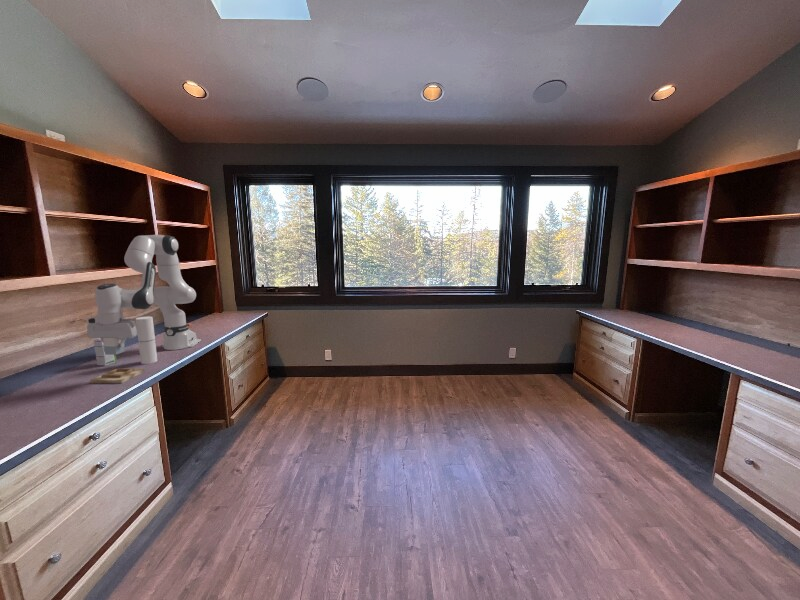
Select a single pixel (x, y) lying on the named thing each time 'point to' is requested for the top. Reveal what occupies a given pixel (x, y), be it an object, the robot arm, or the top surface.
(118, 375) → the base plate
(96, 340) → the syrup box
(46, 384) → the top surface
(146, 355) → the cylindrical container
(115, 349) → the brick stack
